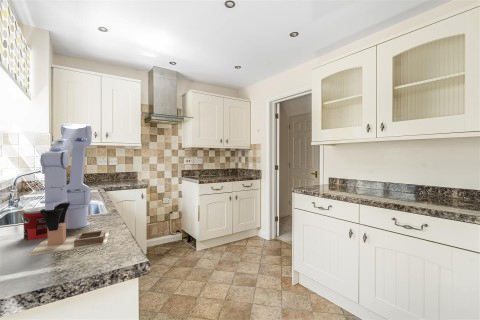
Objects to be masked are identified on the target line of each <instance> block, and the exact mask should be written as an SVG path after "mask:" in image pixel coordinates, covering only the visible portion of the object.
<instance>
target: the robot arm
mask: <svg viewBox="0 0 480 320" xmlns="http://www.w3.org/2000/svg"><path fill="white" fill-rule="evenodd" d="M60 133H61V138H59V139H56V141H55V142H53V145H52V146H51V147H50V149H49V150H48V151H45V152H42V153H41V156H40V159H39V162H40V166H41V171H42V174H44V175H43V176H44V200H41V201H40V204H44V206H45V209H42V210H40V213H41V215H42V216H43V217H44V219H45V221H46V224H47V227H48V230H49V231H55V230H58V226H59V223H64V221H65V223H66V230H76V229H82V228H84V227H86V226H87V225H90V224H91V223H90V222H88V211H87V210H88V209H87V207H88V206H89V205H90V204H91V201H92V193H91V188H90V186H88V185H86V184H85V183H84V182H85V181H84V177H85V165H86V152H87V147H88V146H90V145H92V139H93V130H92V126H91V125H90V124H88V123H87V124H84V123H81V124H80V123H67V122H66V123H65V122H64V123H62V124H61V125H60ZM70 156H71V157H70ZM70 159H71V160H70ZM70 162H71V163H70ZM69 165H70V173H69V183H68V184H67V168H68V167H69Z"/></svg>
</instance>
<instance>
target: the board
mask: <svg viewBox="0 0 480 320" xmlns="http://www.w3.org/2000/svg"><path fill="white" fill-rule="evenodd" d="M109 234H110V231H106V229H101V230H92V231H85V232H79V233H78V234H77V235H73V236H66V240H65V242H64V243H63V244H57V245H50V246H48V239H43V240H41V242H40V243H39V244H38V245H37V246H36V247H35V248H34V249H33V250H31V251H30V253H29V254H27V257H30V256H37V255H44V254H45V255H46V254H50V253H59V252H65V251H69V250H78V249H84V248H90V247H96V246H97V247H98V246H104V245H107V241H108V238H109Z"/></svg>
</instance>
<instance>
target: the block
mask: <svg viewBox="0 0 480 320" xmlns="http://www.w3.org/2000/svg"><path fill="white" fill-rule="evenodd" d="M47 233H48V237H47V240H48V246H50V245H57V244H63V243H64V242H65V240H66V237H67V229H66V223H59V226H58V230H55V231H49V230H48V227H47Z"/></svg>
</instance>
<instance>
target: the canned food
mask: <svg viewBox="0 0 480 320" xmlns="http://www.w3.org/2000/svg"><path fill="white" fill-rule="evenodd" d="M42 209H45V207H44V206H39V207H38V206H37V207H32V208H27V209H24V210H23V212H22V215H23V217H22V219H23V239H24V240H25V241H35V240H36V241H37V240H39V239H40V240H41V239H44V238H45V239H46V238H48V233H47V224H46V221H45V219H44V217H43V216H42V215H41V213H40V210H42Z"/></svg>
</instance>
